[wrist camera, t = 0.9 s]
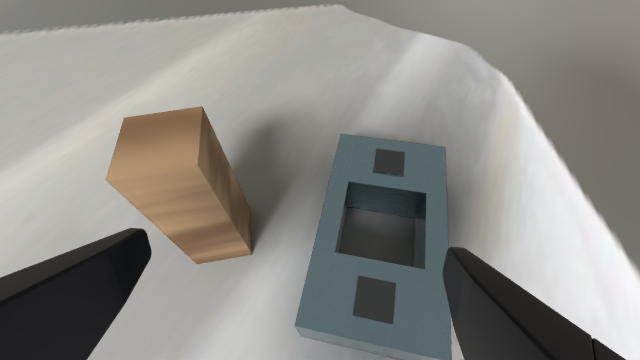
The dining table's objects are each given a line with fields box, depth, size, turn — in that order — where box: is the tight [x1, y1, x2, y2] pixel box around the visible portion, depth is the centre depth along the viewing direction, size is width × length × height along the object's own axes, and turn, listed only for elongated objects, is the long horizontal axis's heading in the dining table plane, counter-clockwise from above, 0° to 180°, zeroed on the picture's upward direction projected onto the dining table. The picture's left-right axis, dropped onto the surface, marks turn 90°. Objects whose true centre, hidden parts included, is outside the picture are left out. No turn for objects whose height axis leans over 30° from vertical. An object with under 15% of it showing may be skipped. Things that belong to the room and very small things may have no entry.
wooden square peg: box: [106, 106, 252, 264], centre depth 21 cm, size 4×4×12 cm
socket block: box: [295, 134, 452, 360], centre depth 23 cm, size 16×9×4 cm, turn 168°
